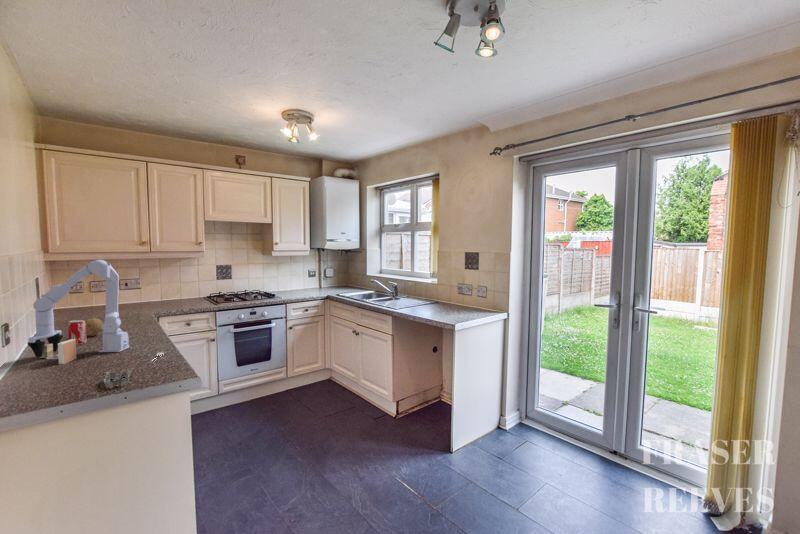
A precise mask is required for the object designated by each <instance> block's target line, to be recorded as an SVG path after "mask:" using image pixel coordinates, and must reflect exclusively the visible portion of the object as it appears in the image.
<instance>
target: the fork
mask: <svg viewBox="0 0 800 534" xmlns="http://www.w3.org/2000/svg"><path fill="white" fill-rule="evenodd" d="M162 354H163V355H164V354H165V353H164V351H161V352H160V351H158V352H157V353H156V355H157V356H158V355H159V356H160V355H161V356H162ZM153 358H154V357H153ZM153 358H152V360H151V361H153V360H154V359H156V358H157V357H156V358H154V359H153ZM156 360H157V359H156Z"/></svg>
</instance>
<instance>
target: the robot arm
mask: <svg viewBox="0 0 800 534" xmlns="http://www.w3.org/2000/svg"><path fill="white" fill-rule="evenodd" d="M93 274H94V275H97V276H99V277H101V278H102V279H104V280H105V315H104V322H103V325H102V329H103V331H101V334H102V349H101V350H98V353H119V352H122V351H124V350H127V349H129V348H131V346H130V343H129V341H130V340H129V333H128V332H127V331H123V329H122V328H121V325H122V320H121V318H120V313H119V295H120V294H119V292H120V291H119V289H120V288H119V286H120V285H119V284H120V276H119V274H118V273H117V271H116V270H115V268H113V266H112V264H111V263H110V262H108V261H106V260H105V259H96V260H91V261H90V262H89V263H88V264H86V265H84V266H82V267H80V268H79V269H78V270H77V271H76V272H75V273H73V274H72V276H70V277H69V278H68V279H66V280H65V281H64V282H63V283H62V284H61V283H60V284H59V283H58V284H56V285H52V286H51V287H50V289H49V290H48V291H47V292H45V294H44V293H42V294H41V295H40V298H37V299H35V301H34V302H33V303H32V304H33V306H32V307H33V309H34V310H35V316H34V317H35V331H36V332H35V333H34V334H33V336H31V337H28V339H27V345H28V347H30V348H31V350H32V352H33V354H34V356H35V358H40V357H42V355H43V346H44V344H46V341H42V340H44V339H46V340H47V342H48V344H53V353H55V352H58V343H61V341H62V339H63V334H62V330H61V329H57V330H55V316H54V307H55V305H56V304H57V303H59V302H60V301H61V300H62V299H64V298H65V297H66V296H68V294H69V293H70V290H71V288H72V287H73V286H75V285H76V284H77V283H78V282H80V281H81V280H83V278H85V277H87V276H88V277H89V276H91V275H93Z"/></svg>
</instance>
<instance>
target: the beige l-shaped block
mask: <svg viewBox="0 0 800 534" xmlns="http://www.w3.org/2000/svg"><path fill="white" fill-rule="evenodd" d="M40 358H46V359H45V360H59V357H58V353H57V354H54V352H53V344H49V343H45V344H44V346H43V355H42V357H39V359H40Z"/></svg>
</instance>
